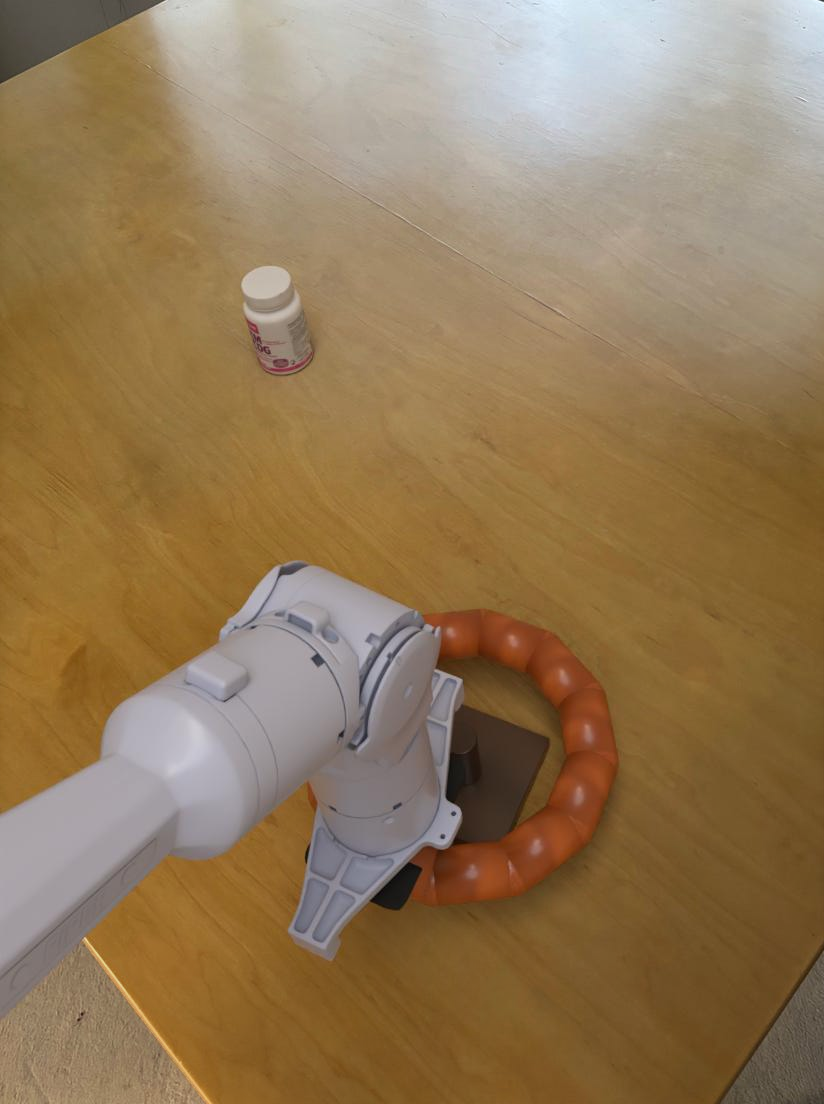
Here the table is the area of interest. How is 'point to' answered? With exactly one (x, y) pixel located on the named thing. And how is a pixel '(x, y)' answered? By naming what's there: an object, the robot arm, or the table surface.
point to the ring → (576, 790)
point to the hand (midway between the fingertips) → (402, 863)
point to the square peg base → (493, 773)
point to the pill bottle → (276, 320)
